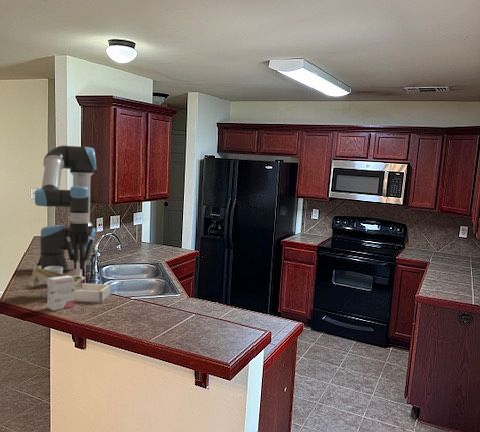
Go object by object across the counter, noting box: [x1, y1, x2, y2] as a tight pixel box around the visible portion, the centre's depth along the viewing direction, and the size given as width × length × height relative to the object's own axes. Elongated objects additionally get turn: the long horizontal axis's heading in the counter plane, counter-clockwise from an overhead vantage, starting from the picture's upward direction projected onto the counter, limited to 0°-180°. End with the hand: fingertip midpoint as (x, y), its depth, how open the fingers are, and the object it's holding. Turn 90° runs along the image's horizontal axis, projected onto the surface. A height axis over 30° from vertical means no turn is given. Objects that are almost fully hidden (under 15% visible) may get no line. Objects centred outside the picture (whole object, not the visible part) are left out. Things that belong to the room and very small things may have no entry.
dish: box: [74, 282, 112, 304], centre depth 186 cm, size 12×12×4 cm
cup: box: [42, 266, 64, 286], centre depth 202 cm, size 11×8×8 cm
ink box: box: [46, 275, 75, 311], centre depth 171 cm, size 9×5×12 cm, turn 137°
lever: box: [29, 266, 86, 290], centre depth 190 cm, size 15×17×8 cm
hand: (78, 276), depth 194 cm, fingers closed
